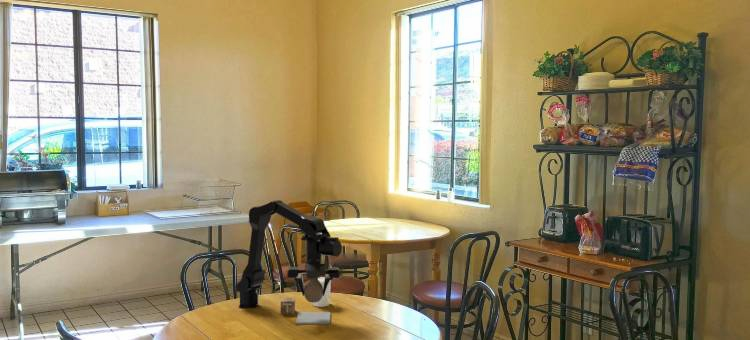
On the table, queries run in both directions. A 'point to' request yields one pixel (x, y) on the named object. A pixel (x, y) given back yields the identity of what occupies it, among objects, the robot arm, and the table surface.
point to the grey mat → (313, 318)
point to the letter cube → (287, 305)
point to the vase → (313, 290)
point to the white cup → (325, 298)
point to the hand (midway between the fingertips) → (313, 295)
